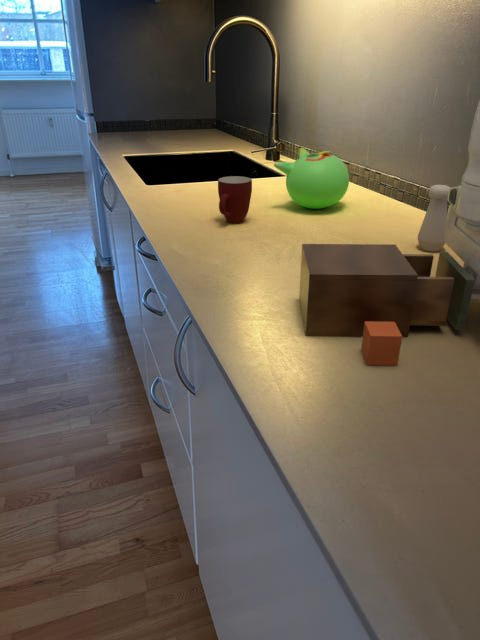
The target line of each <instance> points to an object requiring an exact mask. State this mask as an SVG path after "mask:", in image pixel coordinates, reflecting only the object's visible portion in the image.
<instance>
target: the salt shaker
mask: <svg viewBox="0 0 480 640" xmlns="http://www.w3.org/2000/svg"><path fill="white" fill-rule="evenodd" d="M450 188H451V186H448V185H446V184H434V185H431V186H430V187H429V190H428V198H430V201H429V203H428V206H427V209H426V212H425V214H424V217H423V220H422V222H421V226H420V228H419V230H418V234H417V243H418V247H419V249H420V250H423V251H425V252H431V253H437V252H441V251H442V249H443V247H444V246H445V244H446V240H445V229H446V221H447V214H448V192H449V189H450Z"/></svg>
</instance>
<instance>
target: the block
mask: <svg viewBox="0 0 480 640" xmlns="http://www.w3.org/2000/svg"><path fill="white" fill-rule="evenodd" d="M402 339H403V337H402V335H401V333H400V331H399V329H398V327H397V325H396V323H395V322H374V321H365V323H364V331H363V336H362V340H361V346H360V347H361V348H360V350H361V354H362V356H363V359H364V362H365V365H366V366H398V365H399V358H400V352H401V346H402V342H403V341H402Z"/></svg>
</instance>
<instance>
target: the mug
mask: <svg viewBox="0 0 480 640" xmlns="http://www.w3.org/2000/svg"><path fill="white" fill-rule="evenodd" d="M217 192H218V199H219V201H218V210H219V213H220V214H221V215H223V216H224V218H225V220H226V222H227V223H230V224H241V223H243V222H244V221H245V219H246V217H247V215H248V214H249V209H250V204H251V199H252V192H253V179H252V178H250V177H247V176H241V175H240V176H239V175H237V176H236V175H234V176H233V175H230V176H223V177H220V178H218V179H217Z"/></svg>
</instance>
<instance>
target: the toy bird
mask: <svg viewBox="0 0 480 640" xmlns="http://www.w3.org/2000/svg"><path fill="white" fill-rule="evenodd" d="M330 153H331V150H326V151H325V150H324V151H318V152H317V151H316V152H315V151H314V152H312V153H310V152H309V151H308V150H307V149H305V148H304V147H300V148H299V151H298V156H299V157H298V158H297V159H296V160H295V161H294V162H287V161H276V162H274V163H273V166H274V168H276V170H279V171H280V172H281V173H284V174H285V175H286V177H285V185H286V192H287V193H288V195H289V197H290V198H291V199H292V201H293V202H294V203H296V204H297V205H299V206H301V207H303V208H306V209H313V210H314V209H315V210H318V209H325V208H329V207H332V206H333V205H335V204H336V203H338V202H340V201H341V200H342V199H343V198H344V196H345V195H346V194H347V191H348V189H349V186H350V174H349V170H348V167H347V166H346V164H345V162H344V161H342V159H341V158H339V157H338V156H336V155H334V154H330Z"/></svg>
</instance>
